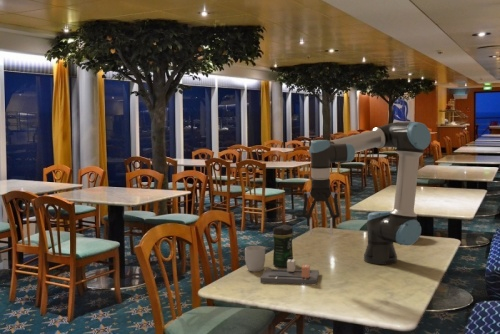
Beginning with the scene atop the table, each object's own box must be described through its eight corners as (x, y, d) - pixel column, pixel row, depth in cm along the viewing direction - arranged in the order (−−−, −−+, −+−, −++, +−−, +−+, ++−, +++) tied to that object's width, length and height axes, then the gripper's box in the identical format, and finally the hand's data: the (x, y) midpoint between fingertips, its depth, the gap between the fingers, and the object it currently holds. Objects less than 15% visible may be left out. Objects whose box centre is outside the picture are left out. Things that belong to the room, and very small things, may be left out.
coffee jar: (285, 269, 247) (285, 228, 245) (270, 266, 251) (269, 226, 250) (296, 263, 255) (295, 224, 253) (281, 261, 259) (280, 222, 258)
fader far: (295, 269, 237) (295, 259, 237) (294, 271, 234) (294, 261, 233) (288, 268, 238) (288, 259, 238) (287, 271, 234) (286, 261, 234)
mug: (259, 273, 241) (259, 251, 240) (241, 271, 245) (241, 249, 244) (272, 266, 252) (271, 244, 251) (255, 264, 256) (254, 243, 255)
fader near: (309, 274, 228) (309, 264, 228) (309, 277, 224) (309, 267, 224) (302, 274, 229) (302, 264, 228) (301, 277, 225) (301, 267, 225)
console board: (318, 274, 237) (318, 269, 237) (316, 284, 223) (316, 279, 222) (266, 272, 242) (265, 267, 241) (260, 283, 227) (260, 277, 227)
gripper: (346, 177, 223) (346, 232, 226) (296, 177, 227) (297, 231, 229) (346, 179, 216) (346, 236, 218) (294, 179, 220) (295, 235, 222)
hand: (321, 234), depth 224 cm, fingers open, 8 cm apart
